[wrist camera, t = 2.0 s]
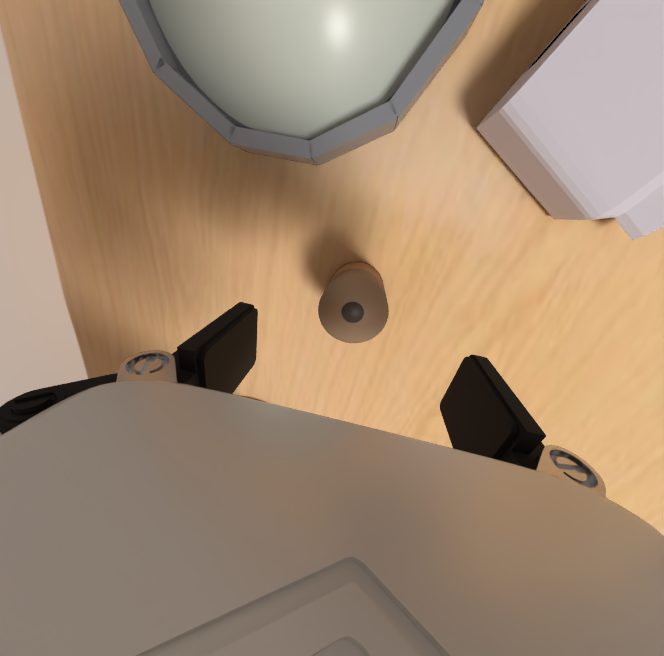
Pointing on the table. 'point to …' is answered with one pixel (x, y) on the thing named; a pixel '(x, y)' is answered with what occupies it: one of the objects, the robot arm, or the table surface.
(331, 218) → the table surface
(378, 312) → the bead
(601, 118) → the charger
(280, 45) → the tray
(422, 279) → the table surface
